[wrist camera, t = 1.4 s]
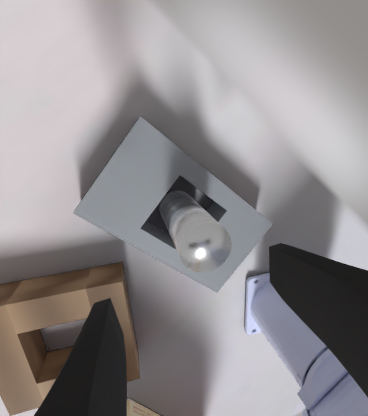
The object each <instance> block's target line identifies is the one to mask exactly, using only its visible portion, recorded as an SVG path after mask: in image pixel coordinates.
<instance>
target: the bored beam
mask: <svg viewBox="0 0 368 416" xmlns="http://www.w3.org/2000/svg"><path fill="white" fill-rule="evenodd" d="M179 175H181V176H182V177H183V178H184V179H186V180H187V181H188V182H190V183H191V184H192V185H194V186H195V187H196V188H198V189H199V190H200V191H202V192H203V193H204V194H206V195H207V196H208V197H210V198H211V199H212V200H214V201H213V202H212V204H211V205H210V206H209V208H208V209H207V210H206V211H207V212H208V213H209V214H210V215H211V216H212V217H213V218H214V219H215V220H216V221H217V222H218V223H219V224H220V225H221V226H223V227H224V228H225V229H226V230H227V232H228V233H229V235H230V237H231V242H232V246H231V251H230V254H229V256H228V258H227V259H226V261H225V262H224V263H223V264H222V265H221V266H220V267H218V268H217V269H215V270H212V271H210V272H205V273H198V272H194V271H191V270H189V269H188V268H187V267H186V266H185V265H184V264H183V263H182V261H181V258H180V256H179V254H178V252H177V250H176V247H175V245H174V243H173V241H172V238H171V236H170V235H169V234H168V233H166V232H164V231H163V230H161V229H159V228H158V227H156V226H155V225H153V224H151V223H150V222H148V221H146V220H147V219H148V217H149V216H150V215H151V213H152V212H153V211H154V209H155V208H156V207H157V205H158V204H159V202H160V201H161V200H162V198H163V197H164V196H165V194H166V193H167V192H168V190H169V189H170V188H171V186H172V185H173V184H174V182H175V181H176V180H177V178H178V177H179ZM74 214H76V215H77V216H79V217H81V218H83V219H85V220H86V221H88V222H90V223H92V224H94V225H96V226H97V227H99V228H101V229H103V230H105V231H106V232H108V233H110V234H112V235H114V236H115V237H117V238H119V239H121V240H123V241H125V242H126V243H128V244H130V245H132V246H134V247H135V248H137V249H139V250H141V251H143V252H144V253H146V254H148V255H150V256H152V257H154V258H155V259H157V260H159V261H161V262H163V263H164V264H166V265H168V266H170V267H172V268H173V269H175V270H177V271H179V272H181V273H182V274H184V275H186V276H188V277H190V278H192V279H193V280H195V281H197V282H199V283H201V284H202V285H204V286H206V287H208V288H210V289H211V290H213V291H215V292H218V291H219V290H220V289H221V287H222V286H223V285H224V284H225V282H226V281H227V280H228V279H229V278H230V276H231V275H232V274H233V273H234V271H235V270H236V269H237V268H238V266H239V265H240V264H241V263H242V262H243V260H244V259H245V258H246V257H247V255H248V254H249V253H250V252H251V250H252V249H253V248H254V247H255V246H256V244H257V243H258V242H259V241H260V239H261V238H262V237H263V236H264V235H265V233H266V232H267V231H268V230H269V228H270V227H271V226H272V225H273V224H272V223H271V222H270V221H269V220H267V219H266V218H265V217H264V216H263V215H261V214H260V213H259V212H258V211H256V210H255V209H254V208H253V207H251V206H250V205H249V204H248V203H247V202H245V201H244V200H243V199H242V198H240V197H239V196H238V195H237V194H236V193H234V192H233V191H232V190H231V189H229V188H228V187H227V186H226V185H224V184H223V183H222V182H221V181H220V180H218V179H217V178H216V177H215V176H213V175H212V174H211V173H210V172H208V171H207V170H206V169H205V168H204V167H202V166H201V165H200V164H199V163H197V162H196V161H195V160H194V159H192V158H191V157H190V156H189V155H188V154H186V153H185V152H184V151H183V150H181V149H180V148H179V147H178V146H177V145H175V144H174V143H173V142H172V141H170V140H169V139H168V138H167V137H165V136H164V135H163V134H162V133H161V132H159V131H158V130H157V129H156V128H154V127H153V126H152V125H151V124H149V123H148V122H147V121H146V120H145V119H143V118H142V117H141V116H140V117H139V118H138V120H137V121H136V122H135V124H134V125H133V127H132V128H131V130H130V131H129V133H128V134H127V135H126V137H125V138H124V140H123V141H122V143H121V144H120V145H119V147H118V148H117V150H116V151H115V153H114V154H113V156H112V157H111V158H110V160H109V161H108V163H107V164H106V166H105V167H104V168H103V170H102V171H101V173H100V174H99V176H98V177H97V179H96V180H95V181H94V183H93V184H92V186H91V187H90V189H89V190H88V191H87V193H86V194H85V196H84V197H83V199H82V200H81V202H80V203H79V205H78V206H77V208H76V209H75V211H74Z"/></svg>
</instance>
